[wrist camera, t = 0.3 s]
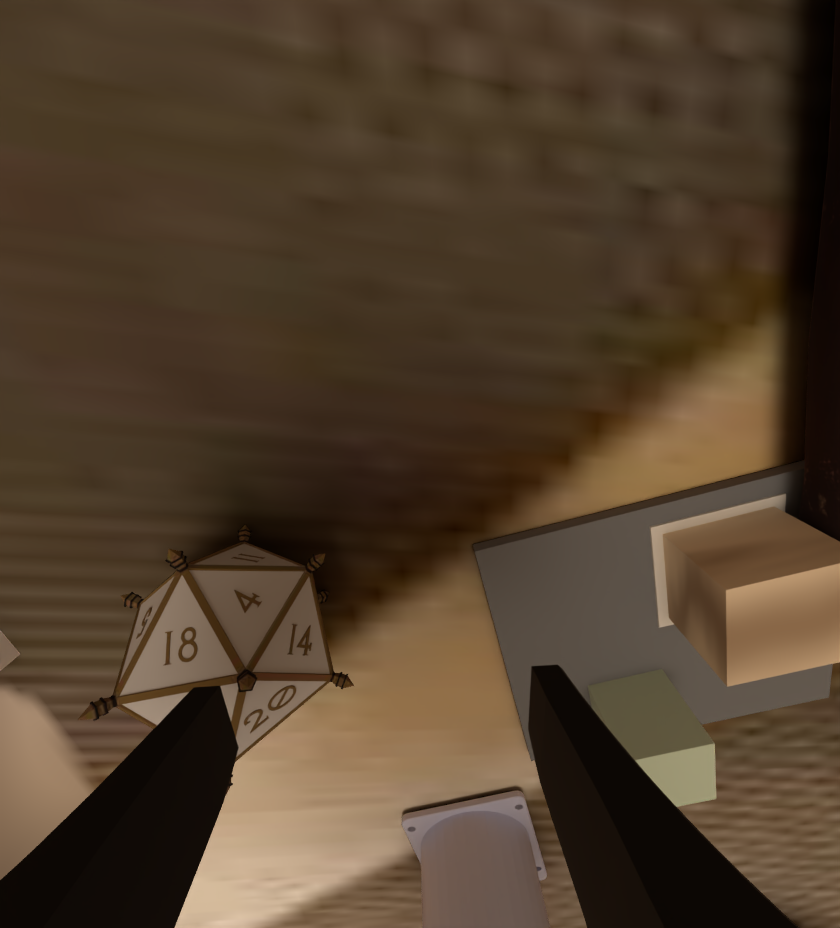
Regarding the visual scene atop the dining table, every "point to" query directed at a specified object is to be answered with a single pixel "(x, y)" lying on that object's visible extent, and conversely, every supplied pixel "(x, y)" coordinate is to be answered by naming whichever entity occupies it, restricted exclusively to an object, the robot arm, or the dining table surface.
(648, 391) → the dining table surface
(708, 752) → the sage cube
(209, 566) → the game die
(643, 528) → the mat
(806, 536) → the beech block
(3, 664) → the milk
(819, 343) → the diary
